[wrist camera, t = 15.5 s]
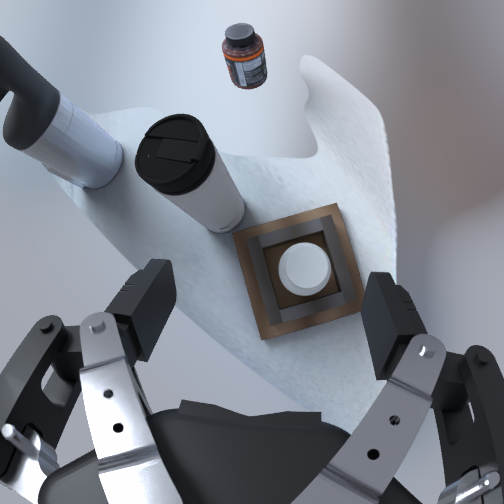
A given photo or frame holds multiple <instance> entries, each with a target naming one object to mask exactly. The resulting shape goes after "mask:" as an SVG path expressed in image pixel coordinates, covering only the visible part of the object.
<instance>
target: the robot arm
mask: <svg viewBox="0 0 504 504" xmlns="http://www.w3.org/2000/svg"><path fill="white" fill-rule="evenodd" d="M8 91H12V92H14V97H13V100H12V103H11V105H10V108H9V110H8V112H7V115H6V118H5V121H4V125H3V138H4V140H5V142H7V144H8V145H10V146H12V147H13V148H15V149H17V150H20V151H21V152H23V153H25V154H27V155H29V156H31V157H32V158H34V159H36V160H38V161H40V162H42V163H44V164H45V165H47V170H48V171H49V172H51V173H53V174H55V175H57V176H59V177H61V178H63V179H65V180H66V181H68V182H70V183H72V184H74V185H76V186H78V187H80V188H84V187H89V188H93V189H96V188H100V187H102V186H104V185H106V184H107V183H109V182H110V181H111V180H112V179H113V178H114V176H115V175H116V174H117V172H118V170H119V168H120V166H121V163H122V158H123V151H122V147H121V145H120V144H119V143H118V142H117V141H116V140H115V139H114V138H112V137H111V136H110V135H109V134H108V133H107V132H106V131H105V130H103V129H102V128H101V127H100V126H99V125H98V124H96V123H95V122H94V121H93V120H92V119H91V118H89V117H88V116H87V115H86V114H85V113H84V112H83V111H81V110H80V109H79V108H78V107H77V106H76V105H74V104H73V103H72V102H71V101H70V100H69V99H67V98H66V97H65V96H64V95H63V94H62V93H60V92H59V91H58V90H57V89H56V88H55V87H53V86H52V85H51V84H50V83H49V82H48V81H47V80H46V79H44V78H43V77H42V76H41V75H40V74H39V73H38V72H37V71H36V70H35V69H33V68H32V67H31V66H30V65H29V64H28V63H27V62H26V61H25V60H24V59H23V58H22V57H21V56H20V54H19V53H18V52H17V51H16V50H15V49H14V48H13V47H12V46H11V45H10V44H9V43H8V42H7V41H6V40H5V39H4V38H3V37H1V36H0V102H1V100H2V99H3V98H4V96H5V95H6V94H7V93H8ZM176 296H177V293H176V286H175V280H174V274H173V268H172V263H171V261H170V260H165V259H151V260H150V262H149V263H148V264H147V266H146V267H145V268H144V270H141V269H140V270H139V271H137V272H136V273H135V274H133V275H131V276H130V278H129V279H128V280H127V281H126V283H125V285H123V287H122V288H121V290H120V292H118V294H117V295H116V296H115V298H114V299H113V300H112V302H111V303H110V305H109V306H108V307H107V308H106V310H105V311H104V312H98V313H94V314H92V315H90V316H88V317H87V318H85V319H84V320H83V322H82V323H81V325H80V326H64V324H63V322H62V320H61V318H59V317H58V316H55V315H50V316H46V317H44V318H42V319H40V320H39V321H38V322H37V323H36V324H35V325H34V326H33V328H32V329H31V330H30V332H29V333H28V334H27V336H26V337H25V338H24V340H23V341H22V343H21V344H20V346H19V347H18V348H17V350H16V351H15V353H14V354H13V356H12V357H11V359H10V360H9V362H8V363H7V365H6V367H5V368H4V369H3V371H2V372H1V374H0V484H2V485H3V486H5V487H7V488H8V489H10V490H14V491H15V492H17V493H19V494H20V495H22V496H24V497H25V498H27V499H28V500H30V501H31V502H33V503H35V504H422V503H421V502H420V501H419V500H418V499H416V498H415V497H414V496H413V495H412V494H411V493H410V492H409V491H408V490H407V489H406V488H405V487H404V486H403V485H402V484H401V483H400V482H398V480H396V479H395V478H394V475H395V473H396V472H397V470H398V468H399V467H400V465H401V463H402V462H403V460H404V458H405V456H406V455H407V453H408V451H409V449H410V447H411V445H412V444H413V442H414V440H415V438H416V436H417V434H418V432H419V430H420V428H421V426H422V424H423V421H424V419H425V417H426V415H427V413H428V410H429V408H433V409H434V414H435V418H436V423H437V428H438V434H439V440H440V445H441V452H442V459H443V466H444V474H445V483H446V487H445V489H444V490H443V491H442V492H441V494H440V496H439V499H438V503H437V504H504V378H503V376H502V373H501V371H500V368H499V366H498V364H497V362H496V360H495V357H494V356H493V354H492V353H491V352H490V351H489V350H488V349H486V348H485V347H483V346H479V345H474V346H471V347H469V349H467V351H466V353H465V354H464V355H461V354H456V353H452V352H447V351H446V349H445V346H444V345H443V343H442V342H441V341H440V340H439V339H437V338H436V337H434V336H432V335H428V333H427V331H426V329H425V327H424V324H423V322H422V320H421V318H420V316H419V313H418V311H416V307H415V305H414V303H413V301H412V299H411V297H410V295H409V293H408V292H407V291H406V290H405V289H404V288H403V287H402V286H400V285H395V282H394V280H393V278H392V276H391V274H390V273H389V272H371V273H370V275H369V278H368V282H367V286H366V290H365V294H364V298H363V301H362V307H361V316H362V321H363V324H364V328H365V332H366V336H367V340H368V345H369V349H370V353H371V357H372V362H373V366H374V371H375V376H376V380H387V383H386V385H385V386H384V388H383V389H382V391H381V393H380V394H379V396H378V397H377V399H376V400H375V402H374V403H373V405H372V406H371V408H370V409H369V411H368V412H367V414H366V415H365V417H364V418H363V420H362V421H361V422H360V424H359V425H358V426H357V428H356V429H355V431H354V432H353V433H352V435H350V434H349V433H348V432H346V431H345V430H343V429H341V428H339V427H337V426H335V425H332V424H329V423H326V422H322V421H321V412H290V411H286V412H280V413H273V414H266V415H259V416H245V415H242V414H239V413H236V412H233V411H231V410H228V409H225V408H222V407H219V406H217V405H213V404H206V403H200V402H194V401H188V400H182V401H181V404H180V407H179V409H170V410H164V411H160V412H157V413H154V414H153V413H152V411H151V409H150V407H149V404H148V402H147V399H146V396H145V394H144V391H143V389H142V386H141V383H140V380H139V378H138V375H137V372H136V369H135V367H134V365H135V363H136V361H137V360H139V361H144V362H148V360H149V358H150V355H151V353H152V351H153V349H154V347H155V345H156V343H157V341H158V339H159V336H160V334H161V332H162V330H163V328H164V326H165V324H166V322H167V320H168V318H169V315H170V314H171V312H172V310H173V308H174V305H175V303H176ZM50 364H51V366H52V367H53V369H54V371H53V373H52V375H51V377H50V378H49V380H48V382H47V384H46V386H45V388H44V389H43V391H42V388H41V381H42V378H43V376H44V375H45V373H46V371H47V369H48V368H49V366H50ZM81 390H82V391H83V397H84V402H85V407H86V412H87V416H88V421H89V425H90V430H91V434H92V438H93V441H94V445H95V449H94V450H92V451H91V452H88V453H87V454H85V455H83V456H81V457H80V458H78V459H76V460H74V461H72V462H70V463H69V464H67V465H65V466H63V467H61V468H60V467H59V464H58V463H57V455H56V452H55V449H56V447H57V444H58V442H59V439H60V437H61V435H62V432H63V430H64V428H65V425H66V423H67V421H68V418H69V416H70V414H71V412H72V410H73V407H74V405H75V403H76V401H77V398H78V397H79V395H80V392H81ZM469 402H471V406H472V409H473V413H474V418H475V419H474V423H473V419H472V415H471V412H470V408H469V405H468V403H469Z"/></svg>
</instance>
